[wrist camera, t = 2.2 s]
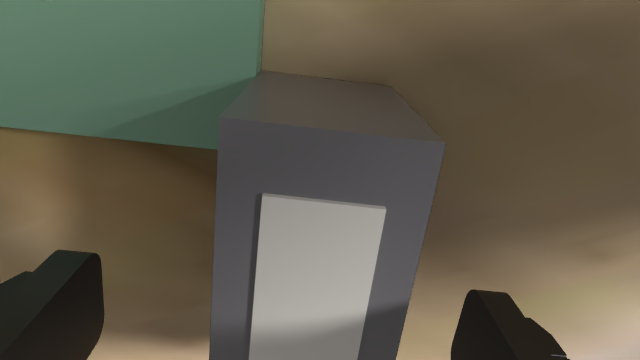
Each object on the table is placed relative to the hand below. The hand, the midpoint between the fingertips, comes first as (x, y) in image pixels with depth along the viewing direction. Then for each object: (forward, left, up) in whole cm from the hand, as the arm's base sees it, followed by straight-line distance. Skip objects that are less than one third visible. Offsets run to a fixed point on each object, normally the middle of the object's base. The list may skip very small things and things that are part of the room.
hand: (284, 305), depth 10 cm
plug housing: (-1, 0, -6) cm, 6 cm away
